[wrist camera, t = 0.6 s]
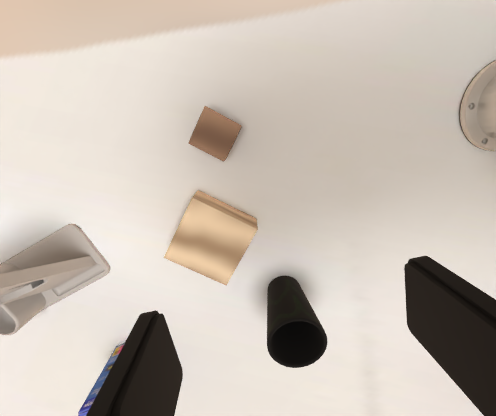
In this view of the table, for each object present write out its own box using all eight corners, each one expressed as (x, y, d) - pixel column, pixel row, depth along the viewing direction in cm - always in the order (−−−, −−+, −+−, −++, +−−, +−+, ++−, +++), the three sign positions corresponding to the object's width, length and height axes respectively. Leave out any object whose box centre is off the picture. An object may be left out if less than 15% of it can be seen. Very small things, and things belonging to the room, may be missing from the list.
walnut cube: (210, 109, 37) (204, 105, 32) (241, 126, 38) (241, 125, 33) (195, 141, 38) (188, 143, 34) (226, 157, 39) (223, 161, 34)
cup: (252, 286, 45) (255, 339, 33) (289, 261, 44) (305, 308, 32) (278, 316, 47) (289, 377, 35) (314, 293, 45) (338, 348, 34)
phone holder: (32, 314, 46) (-95, 424, 29) (-10, 268, 44) (-178, 359, 26) (113, 270, 44) (28, 360, 27) (74, 219, 41) (-49, 282, 24)
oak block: (198, 189, 41) (192, 197, 36) (256, 218, 42) (257, 229, 37) (172, 243, 43) (163, 257, 38) (228, 268, 44) (226, 285, 40)
